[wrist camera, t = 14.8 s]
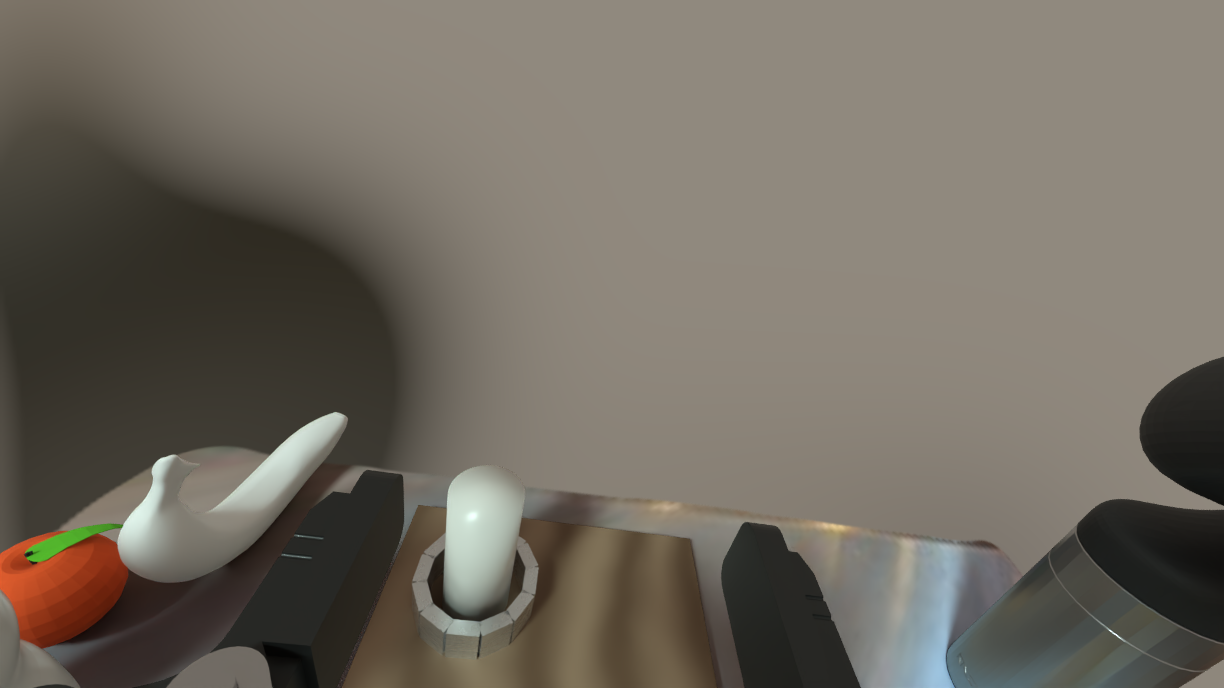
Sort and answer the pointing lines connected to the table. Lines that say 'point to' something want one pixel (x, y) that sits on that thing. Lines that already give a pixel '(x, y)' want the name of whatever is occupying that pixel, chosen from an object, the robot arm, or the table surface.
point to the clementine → (62, 582)
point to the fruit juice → (25, 656)
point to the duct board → (555, 617)
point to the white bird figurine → (219, 509)
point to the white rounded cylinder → (481, 541)
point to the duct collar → (463, 634)
